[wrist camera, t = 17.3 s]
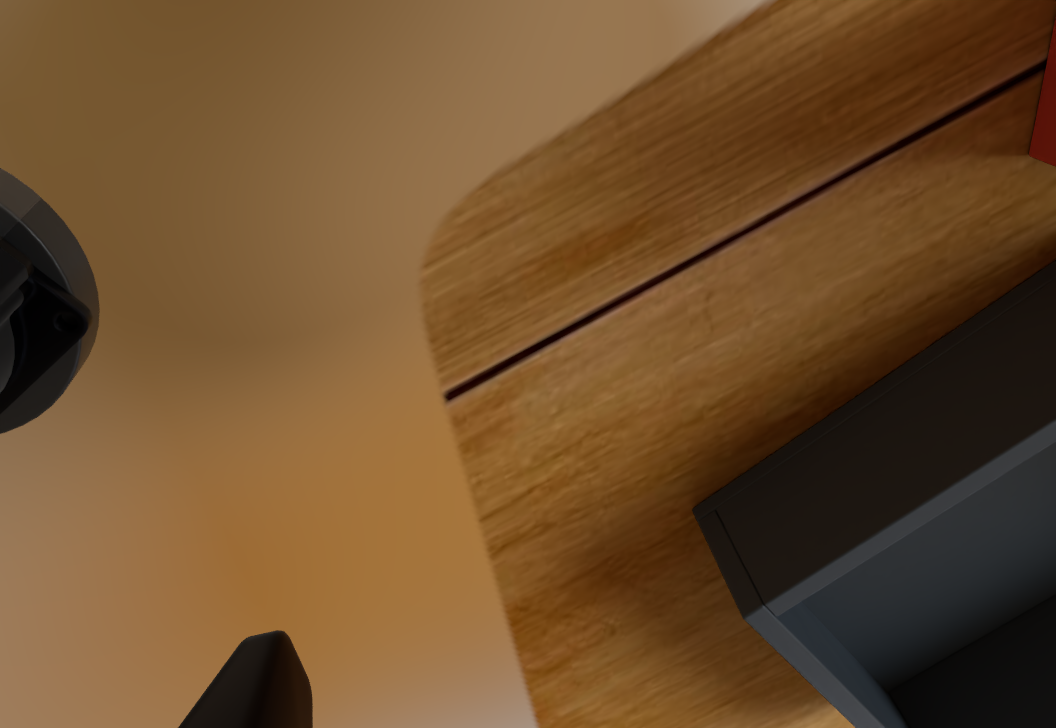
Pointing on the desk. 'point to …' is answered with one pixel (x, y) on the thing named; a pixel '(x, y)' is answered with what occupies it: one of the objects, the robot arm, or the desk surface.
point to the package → (1046, 112)
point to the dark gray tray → (916, 533)
